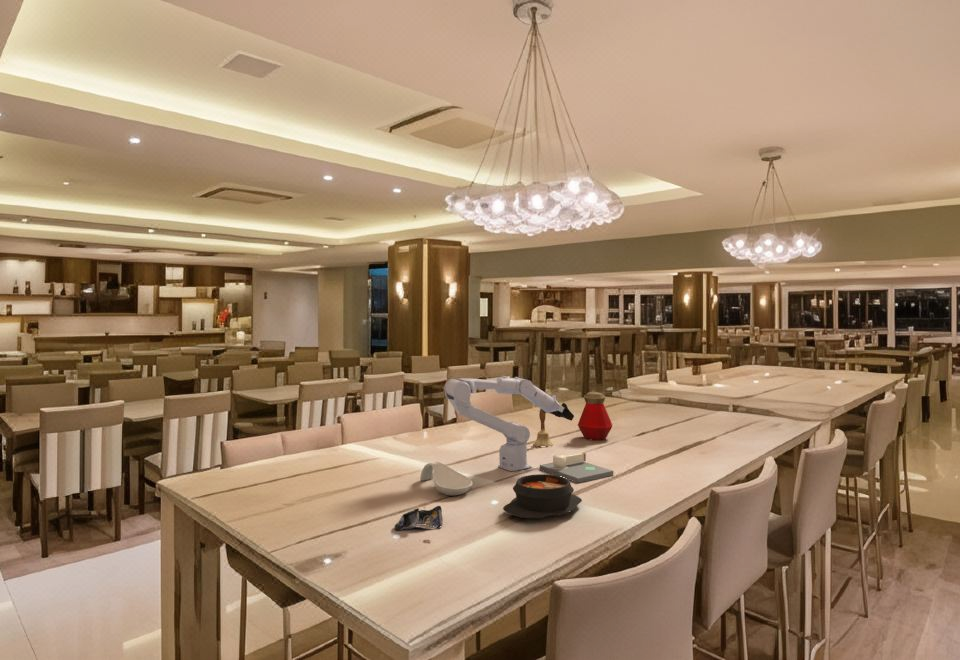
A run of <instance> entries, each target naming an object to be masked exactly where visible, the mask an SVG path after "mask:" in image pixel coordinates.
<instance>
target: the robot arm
mask: <svg viewBox="0 0 960 660" xmlns="http://www.w3.org/2000/svg"><path fill="white" fill-rule="evenodd" d="M443 389H444V394H445V398H446V399H447V400H448V401H449V403H450V404H451V406H452V407H453V409H454V411H455V412H456V414H458V415H460V416H463V417H464V418H467V419H469V420H471V421H474V422H476V423H479V424H480V425H483V426H484V427H487V428H489V429H492V430H495V431H496V432H499V433H500V434H502V435H503V436H504V437H505V438H506V443H504V444H502V445H501V446H500V447H499V451H498V452H499V454H498V455H499V465H498V468H501V469H504V470H506V471H509V472H515V471H520V470H527V469H530V468H533V466H532V465H529V464H528V463H527V460H528V459H527V456H528V455H527V448H528V447H527V446H528V443H527V442H528V441H529V439H530V436H531V432H530V429H529V428H528V427H527V426H525V425H521V424H518V423H517V422H513V421H507V420H504V419H502V418H500V417H499V416H495V415H494V414H491V413H489V412H487V411H484V410H482V409H480V408H478V407H475V406H474V405H472V403H471V394H474V393H475V391H477V390H494V391H495V392H496V394H500V395H501V394H503V395H521V396H522V397H523V398H525V399H526V400H527V401H529V402H530V403H532V404H533V405H535V406H537V407H538V408H539V409H542V410H543V412H544V413H545V414H551V415H553V416H555V417H558V418H564V419H566V420H568V421H571V422H572V421H573V419H574V417H575V415H574V413H572V411H570V409H569V408H568V405H567V403H565V402H562V403H561V404H560V403H559V402H558V401H557V396H556V395H554V394H553V395H549V394H548V393H546V392H545V391H543V390H541V389H540V388H539V387H537V386H536V385H534V384H533V382H532V381H531V380H528V379H525V378H519V377H518V376H514V377H508V376H506V375H501V376H500V377H497V378H496V379H494V380H491V379H480V378H470V377H469V378H468V377H467V378H463V377H461V378H457V379H456V378H450V379H448V380H447V381H446V382H445V384H444V387H443Z"/></svg>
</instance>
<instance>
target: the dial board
mask: <svg viewBox="0 0 960 660" xmlns="http://www.w3.org/2000/svg"><path fill="white" fill-rule="evenodd" d="M540 469H542V470H541V471H543V470H544V471H543V472H546V471H547V473H549V472H550V473H549V474H552V473H553V474H552V475H554V474H556V475H555V476H557V475H559V476H562V477H565V478H567V480H569V479H570V480H569V481H571V480H573V481H572V482H574V481H575V483H577V482H578V483H577V484H579V482H580V483H584V482H583V481H585V482H588V480H589V481H594V480H597V479H602V478H607V477H612V476H614V470H613V469H609V468H606V467H603V466H599V465H596V464H593V463H589V462H586V461H584V462H579V463H574V464H569V465H566V466H565V467H554V466H553V462H550V463H549V462H548V463H545V464H539V470H540ZM593 479H594V480H593Z"/></svg>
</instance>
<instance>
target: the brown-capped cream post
mask: <svg viewBox="0 0 960 660" xmlns="http://www.w3.org/2000/svg"><path fill="white" fill-rule="evenodd" d="M586 454H587V453H586V452H581V453H575V454H574V453H573V454H570V455H562V454H556V455H553V456H552V463H553V466H554V467H565V466H566V465H569V464H574V463H579V462H586V458H587V455H586Z"/></svg>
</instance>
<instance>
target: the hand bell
mask: <svg viewBox="0 0 960 660" xmlns="http://www.w3.org/2000/svg"><path fill="white" fill-rule="evenodd" d="M539 409H540V410H539V412H538V413H539V420H540V431H537V436H536V440H535V441H534V442H533V443H532V445H533V446H534V445H535V446H534V447H536V446H551V447H553V446H554V445H553V442H552V441H551V439H550V435H549V431H547V430H546V426H545V421H546V415H547V413H544V412H543V410H542V409H541V408H539ZM552 445H553V446H552Z"/></svg>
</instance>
